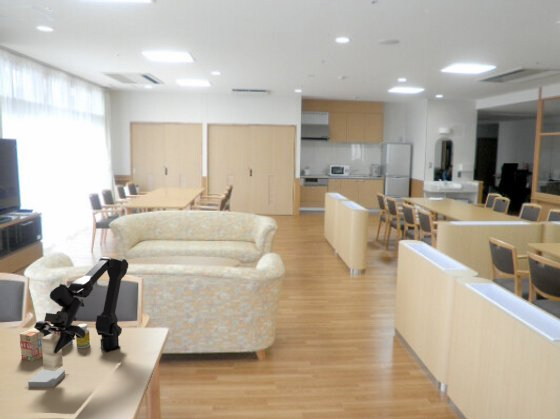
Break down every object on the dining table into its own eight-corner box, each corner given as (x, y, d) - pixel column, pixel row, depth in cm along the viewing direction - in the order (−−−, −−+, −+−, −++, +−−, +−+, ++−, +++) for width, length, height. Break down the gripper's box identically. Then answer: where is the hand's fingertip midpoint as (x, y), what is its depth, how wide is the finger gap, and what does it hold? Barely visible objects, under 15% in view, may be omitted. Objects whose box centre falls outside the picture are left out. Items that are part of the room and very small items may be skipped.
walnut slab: (41, 378, 181) (41, 373, 180) (69, 379, 180) (69, 374, 180) (24, 393, 170) (24, 388, 170) (54, 394, 169) (54, 388, 169)
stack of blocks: (62, 341, 213) (60, 315, 211) (73, 343, 211) (71, 317, 209) (21, 361, 193) (19, 333, 191) (33, 364, 191) (30, 335, 189)
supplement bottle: (76, 344, 209) (75, 324, 208) (89, 342, 211) (88, 322, 210) (77, 349, 204) (75, 328, 203) (90, 347, 207) (89, 326, 205)
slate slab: (41, 374, 179) (41, 369, 179) (65, 375, 179) (64, 370, 179) (28, 387, 170) (28, 381, 170) (53, 387, 170) (52, 382, 170)
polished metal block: (52, 364, 176) (50, 333, 174) (62, 365, 175) (60, 334, 173) (43, 369, 172) (41, 338, 170) (53, 371, 170) (51, 339, 169)
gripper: (35, 300, 176) (14, 340, 167) (78, 305, 171) (58, 346, 162) (52, 313, 185) (33, 352, 176) (93, 318, 180) (75, 358, 171)
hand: (49, 352), depth 171 cm, fingers closed on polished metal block, 4 cm apart
